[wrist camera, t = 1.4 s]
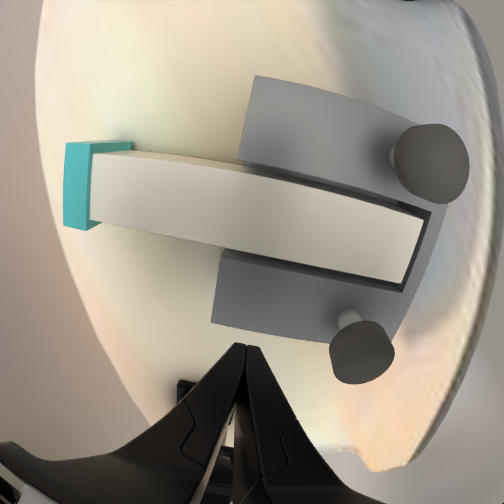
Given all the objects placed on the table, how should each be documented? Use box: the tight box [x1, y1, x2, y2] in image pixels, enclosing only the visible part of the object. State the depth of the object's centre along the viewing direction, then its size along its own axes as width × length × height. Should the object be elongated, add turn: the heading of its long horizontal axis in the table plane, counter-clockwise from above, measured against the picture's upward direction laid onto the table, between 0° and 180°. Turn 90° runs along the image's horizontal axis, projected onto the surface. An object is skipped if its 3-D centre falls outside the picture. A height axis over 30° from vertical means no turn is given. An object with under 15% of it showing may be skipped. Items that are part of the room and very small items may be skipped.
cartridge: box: [63, 140, 424, 283], centre depth 16 cm, size 5×21×5 cm, turn 79°
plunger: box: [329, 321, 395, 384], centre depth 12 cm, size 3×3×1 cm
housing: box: [211, 75, 448, 344], centre depth 16 cm, size 14×12×7 cm
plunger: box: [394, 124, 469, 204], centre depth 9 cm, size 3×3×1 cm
